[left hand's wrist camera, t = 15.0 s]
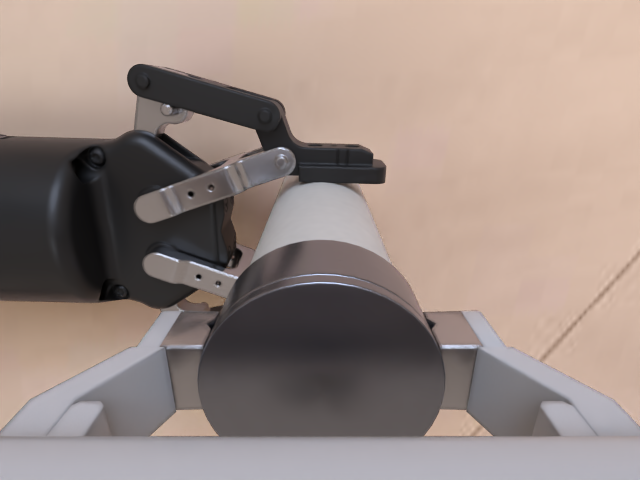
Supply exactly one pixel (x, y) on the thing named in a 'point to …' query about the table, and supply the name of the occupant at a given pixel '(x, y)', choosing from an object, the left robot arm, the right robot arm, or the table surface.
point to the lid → (321, 349)
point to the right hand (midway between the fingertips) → (376, 228)
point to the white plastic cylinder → (320, 217)
